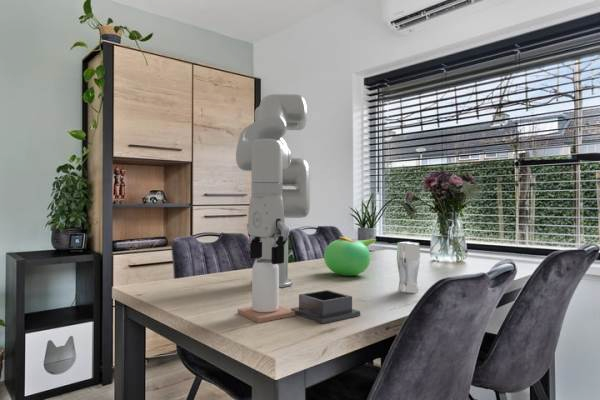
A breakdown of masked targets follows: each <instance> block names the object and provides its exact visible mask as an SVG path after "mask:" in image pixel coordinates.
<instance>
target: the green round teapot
mask: <svg viewBox="0 0 600 400" xmlns="http://www.w3.org/2000/svg"><path fill="white" fill-rule="evenodd" d="M376 241H377V239H375V238H369V239H364V240H357V239H354V238H350V237H344V236H339V239H336V240H334V241H331V242H330V243H329V244H328V245H327V247H326V248H325V249H324V254H323V260H324V263H325V265H326V267H327V268H328V269H329V270H330V271H331V272H334V273H335V274H337V275H339V276H340V275H341V276H345V277H346V276H349V277H350V276H351V277H352V276H358V275H360V274H362V273H364V272H365V271H366V270H367V269H368V267H369V266H370V263H371V260H372V259H371V252H370V250H369V249H368V246H370V245H372V244H374V243H376Z"/></svg>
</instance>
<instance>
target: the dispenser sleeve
mask: <svg viewBox="0 0 600 400" xmlns="http://www.w3.org/2000/svg"><path fill="white" fill-rule="evenodd" d="M290 310H292V311H295V315H296V314H297V315H296V316H299V315H300V316H299V317H303V318H304V319H307V318H308V319H307V320H310V319H311V320H310V321H313V320H314V321H313V322H316V321H317V322H316V323H318V322H319V324H321V323H324V324H327V323H328V322H329V323H333V322H337V320H338V321H343V320H347V319H350V318H351V319H352V318H354V317H360V316H361V310H357V309H354V308H353V296H351V295H348V294H344V293H340V292H336V291H332V290H328V289H325V290H319V291H312V292H306V293H299V294H298V306H297V307H292V308H290ZM346 318H347V319H346ZM332 321H333V322H332Z"/></svg>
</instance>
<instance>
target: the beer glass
mask: <svg viewBox="0 0 600 400" xmlns="http://www.w3.org/2000/svg"><path fill="white" fill-rule="evenodd" d="M396 247H397V249H396V263H397V264H396V265H397V269H398V271H397V272H398V276H399V280H398V288H397V291H398V292H399V293H403V294H417V293H419V287H418V275H419V269H420V264H421V263H420V262H421V251H420V250H421V249H420V242H417V241H416V242H413V241H398V242H397V246H396Z"/></svg>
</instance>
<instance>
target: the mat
mask: <svg viewBox="0 0 600 400" xmlns="http://www.w3.org/2000/svg"><path fill="white" fill-rule="evenodd" d="M237 314H238V315H240V316H243V317H244V318H247V319H250V320H252V321H253V322H254V321H255V322H256V323H258V324H259V323H265V322H270V320H271V321H276V320H280V318H281V319H285V318H286V319H287V318H289V317H296V314H295V311H292V310H291V309H289V308H286V307H283V306H281V305H279V308H278V309H277V311H275V312H271V313H258V312H255V311H254V310H253V309H252V306H248V307H247V306H246V307H243V308H237ZM275 319H276V320H275Z"/></svg>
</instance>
